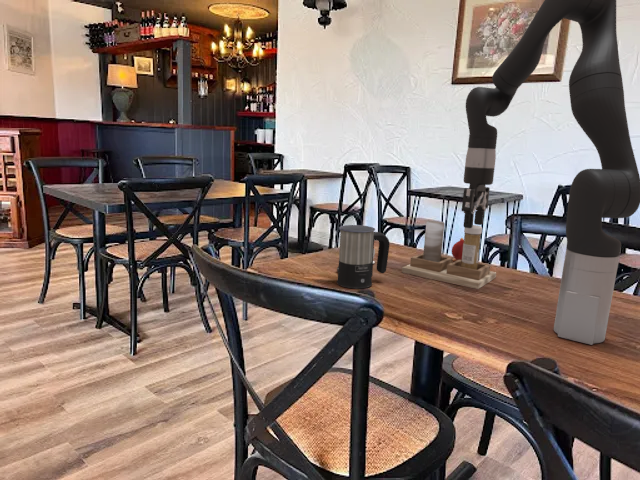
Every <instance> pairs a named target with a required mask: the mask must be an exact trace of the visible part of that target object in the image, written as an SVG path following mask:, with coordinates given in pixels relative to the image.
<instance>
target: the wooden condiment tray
mask: <svg viewBox="0 0 640 480" xmlns="http://www.w3.org/2000/svg"><path fill="white" fill-rule="evenodd" d="M444 231H445V222H443V221H440V220H427V221H425V234H424V242H423V243H424V244H423V252H422V253H420V254H418V255H414V256H412V257H410V263H409V264H407V265H405V266H402V267H401V273H403V274H408V275H412V276H416V277H421V278H426V279H431V280H435V281H439V282H444V283H448V284H454V285H458V286H461V287H467V288H471V289H476V290H480V289H481V288H482V287H484V286H485V285H487V284H488V283H490V282H491V281H493V280H494V279H496V276H497V272H496V271H495V272H494V271H491V265H490V264H485V263H480V262H478V265H477V270H475V269H470V268H465V267H461V264H462V260H460V259H459V260H455V261H453V258H454V257H450V256H449V257H447V256H443V255H442V250H443V249H442V247H443V239H444Z"/></svg>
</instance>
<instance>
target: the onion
mask: <svg viewBox="0 0 640 480" xmlns="http://www.w3.org/2000/svg"><path fill="white" fill-rule="evenodd" d="M463 243H464V238H463V237H460V238H459V240H458V241H457V242H456V243H455V242H454V244H453V246H452V247H451V255H452V258H454V259H455V261H457V260H459V259H460V260H462V252H463Z"/></svg>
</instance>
